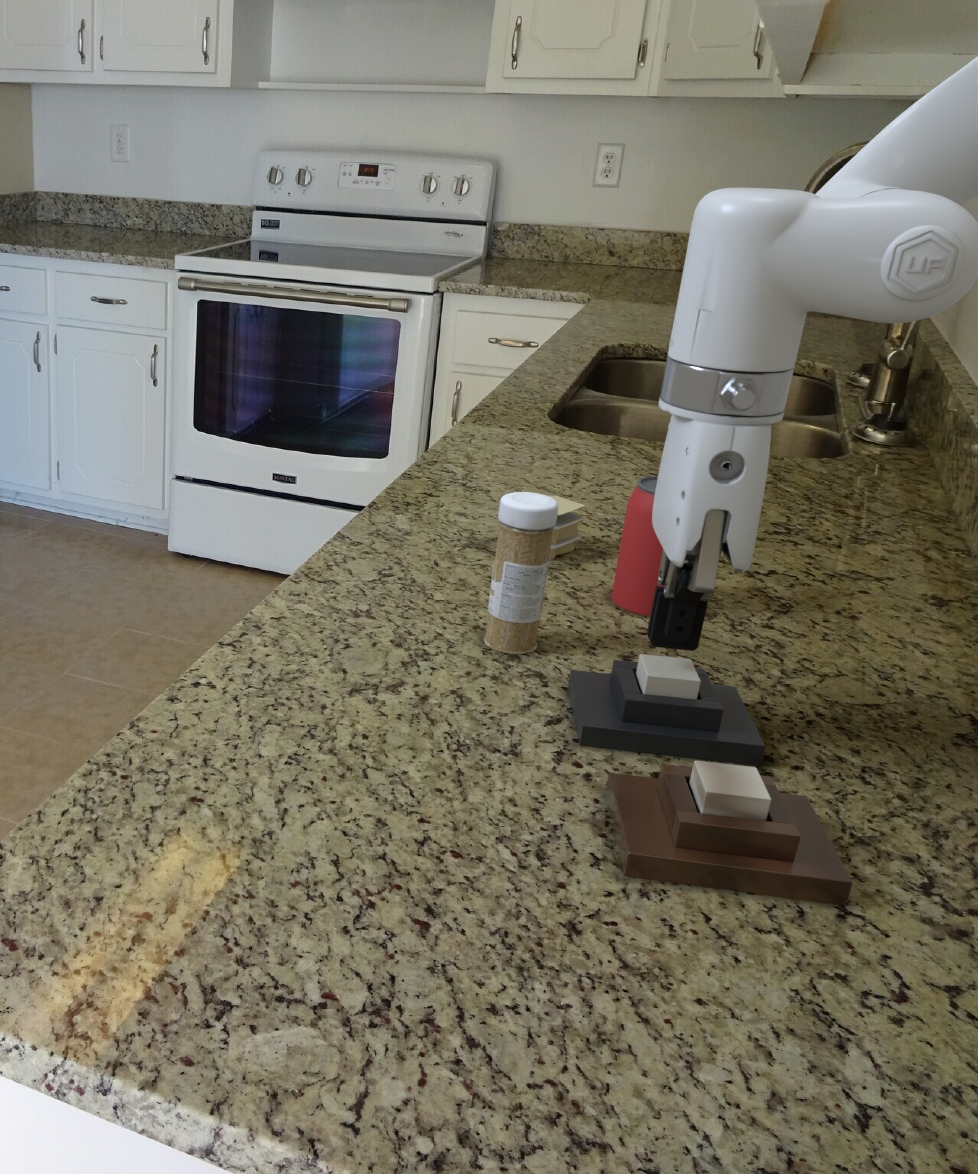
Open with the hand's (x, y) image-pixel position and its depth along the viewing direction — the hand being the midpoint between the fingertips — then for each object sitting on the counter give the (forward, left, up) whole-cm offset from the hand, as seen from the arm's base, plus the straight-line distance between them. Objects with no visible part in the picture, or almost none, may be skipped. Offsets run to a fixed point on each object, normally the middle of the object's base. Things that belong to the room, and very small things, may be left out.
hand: (671, 643), depth 79 cm
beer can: (-3, -24, -7) cm, 25 cm away
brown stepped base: (-1, +15, -7) cm, 17 cm away
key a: (-1, +15, -4) cm, 15 cm away
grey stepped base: (0, 0, -7) cm, 7 cm away
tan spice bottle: (+10, -12, -7) cm, 17 cm away
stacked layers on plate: (+6, -36, -7) cm, 37 cm away
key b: (0, 0, -4) cm, 4 cm away
